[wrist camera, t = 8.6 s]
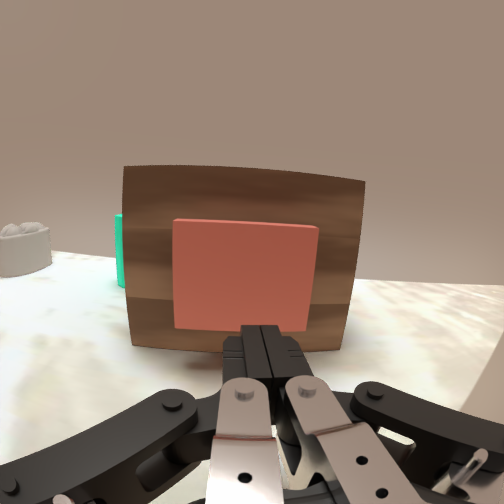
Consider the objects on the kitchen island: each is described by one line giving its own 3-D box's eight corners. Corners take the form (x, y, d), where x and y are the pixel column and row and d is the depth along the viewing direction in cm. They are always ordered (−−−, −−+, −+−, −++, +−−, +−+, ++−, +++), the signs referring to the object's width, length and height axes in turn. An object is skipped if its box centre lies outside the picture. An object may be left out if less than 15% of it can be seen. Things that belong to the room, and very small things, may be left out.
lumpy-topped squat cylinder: (58, 262, 45) (55, 220, 43) (17, 280, 32) (11, 230, 30) (28, 258, 45) (25, 220, 43) (-11, 274, 32) (-16, 229, 30)
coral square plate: (305, 331, 20) (319, 228, 19) (174, 328, 19) (172, 220, 18) (282, 289, 29) (289, 215, 28) (190, 285, 29) (191, 210, 27)
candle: (157, 277, 42) (157, 202, 40) (150, 290, 37) (149, 205, 34) (123, 275, 41) (121, 203, 39) (112, 288, 36) (108, 205, 33)
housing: (339, 349, 25) (365, 181, 21) (132, 344, 23) (123, 166, 19) (307, 302, 36) (320, 183, 33) (159, 297, 34) (159, 174, 31)
